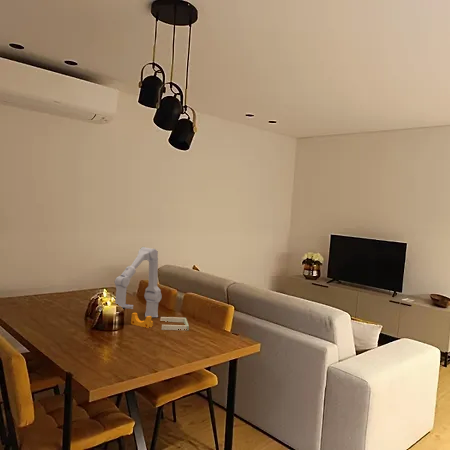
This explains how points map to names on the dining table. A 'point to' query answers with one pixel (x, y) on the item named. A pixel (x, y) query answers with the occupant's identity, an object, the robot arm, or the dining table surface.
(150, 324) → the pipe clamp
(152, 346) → the dining table surface
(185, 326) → the bracket
